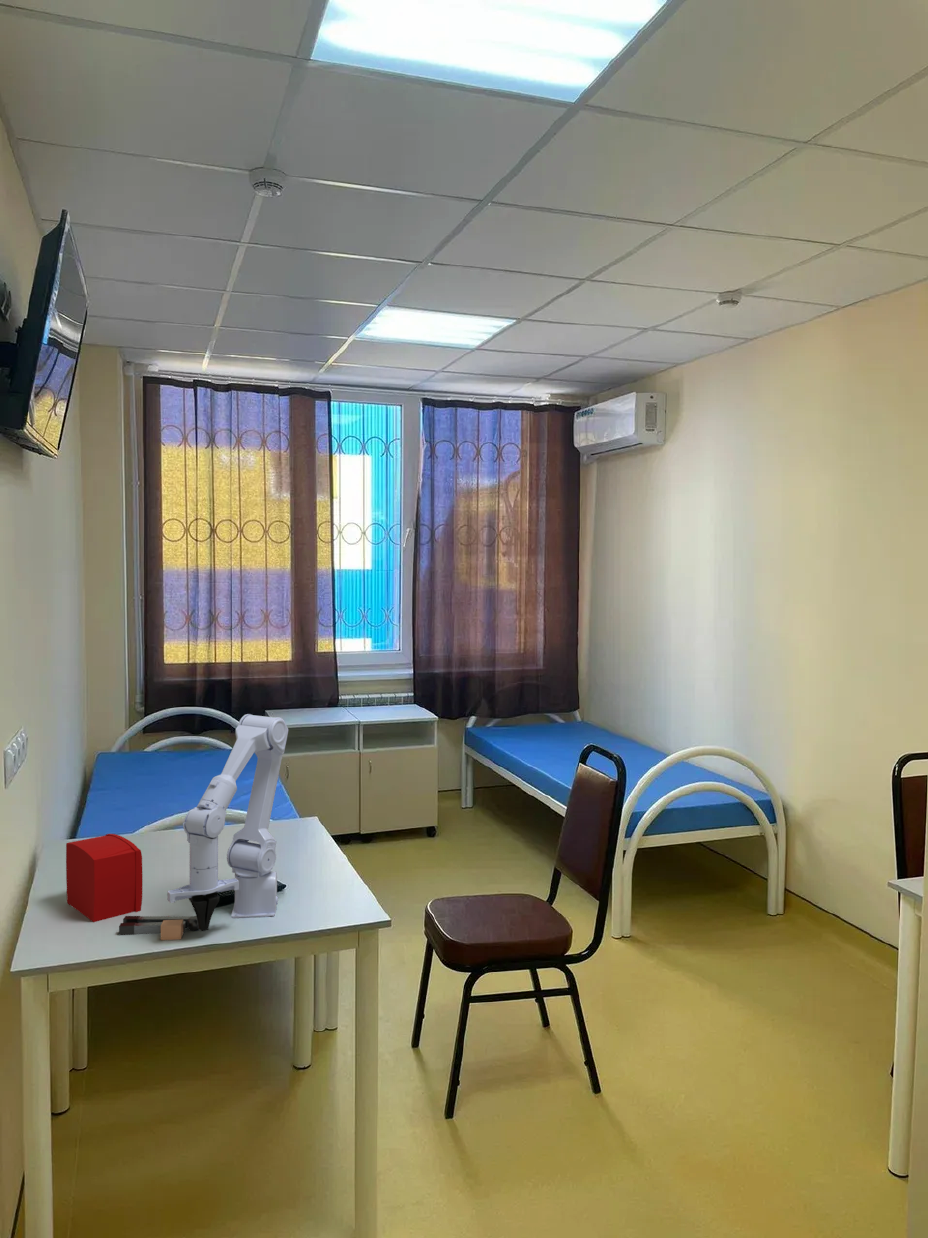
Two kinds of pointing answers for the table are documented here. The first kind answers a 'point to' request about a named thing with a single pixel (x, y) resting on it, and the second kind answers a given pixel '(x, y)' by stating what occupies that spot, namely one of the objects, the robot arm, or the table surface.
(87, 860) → the red curved-top box
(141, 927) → the tongs handle
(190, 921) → the tongs arm
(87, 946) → the table surface
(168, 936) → the block
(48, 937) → the table surface
